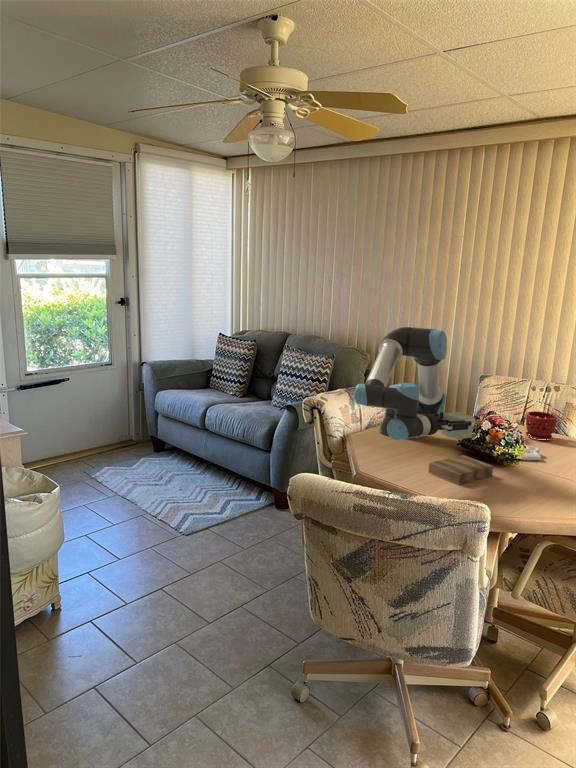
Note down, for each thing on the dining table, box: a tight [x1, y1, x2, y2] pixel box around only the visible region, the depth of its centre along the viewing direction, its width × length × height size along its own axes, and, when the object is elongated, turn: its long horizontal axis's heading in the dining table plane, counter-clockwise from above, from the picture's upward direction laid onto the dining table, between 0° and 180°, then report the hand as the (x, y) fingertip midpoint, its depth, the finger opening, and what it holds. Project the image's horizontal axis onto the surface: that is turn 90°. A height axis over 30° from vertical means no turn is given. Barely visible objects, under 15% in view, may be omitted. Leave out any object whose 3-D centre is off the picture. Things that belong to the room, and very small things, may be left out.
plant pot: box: [525, 410, 558, 440], centre depth 270 cm, size 13×13×12 cm
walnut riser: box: [428, 454, 494, 486], centre depth 216 cm, size 20×14×4 cm
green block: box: [440, 411, 475, 440], centre depth 215 cm, size 8×8×8 cm
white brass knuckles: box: [521, 445, 542, 461], centre depth 243 cm, size 3×18×15 cm
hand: (464, 419), depth 217 cm, fingers closed on green block, 8 cm apart
